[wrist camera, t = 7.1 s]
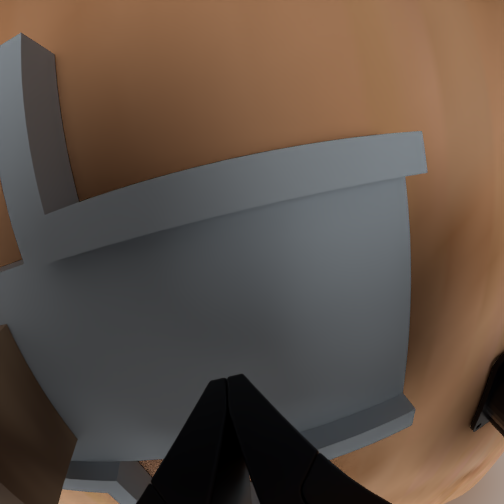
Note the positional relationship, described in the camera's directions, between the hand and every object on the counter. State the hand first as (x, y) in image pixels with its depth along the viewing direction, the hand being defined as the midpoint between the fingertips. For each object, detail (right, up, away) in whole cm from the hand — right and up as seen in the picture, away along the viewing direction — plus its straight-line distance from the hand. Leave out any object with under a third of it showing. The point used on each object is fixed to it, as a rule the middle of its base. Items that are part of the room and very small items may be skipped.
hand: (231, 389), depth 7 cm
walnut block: (-9, -2, 0) cm, 9 cm away
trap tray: (-4, 0, +2) cm, 4 cm away
